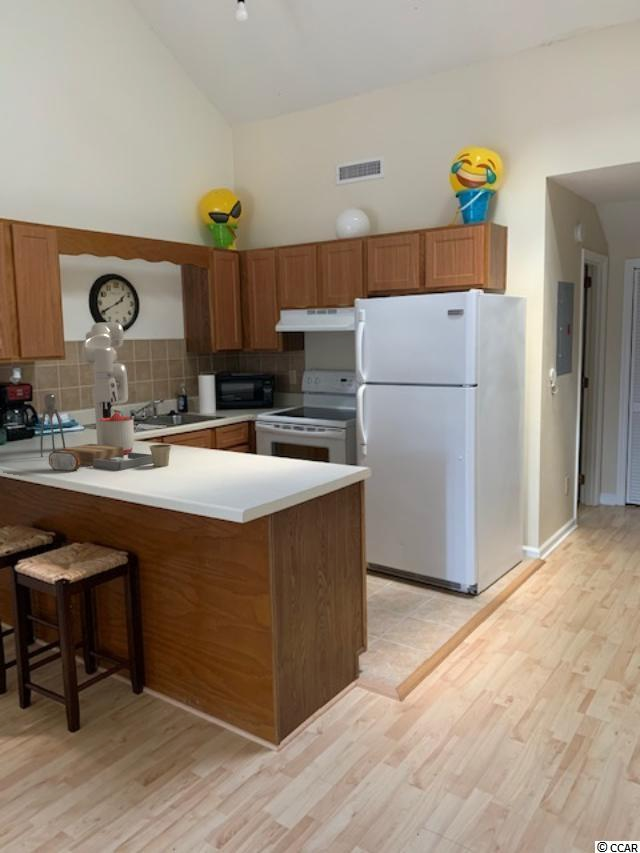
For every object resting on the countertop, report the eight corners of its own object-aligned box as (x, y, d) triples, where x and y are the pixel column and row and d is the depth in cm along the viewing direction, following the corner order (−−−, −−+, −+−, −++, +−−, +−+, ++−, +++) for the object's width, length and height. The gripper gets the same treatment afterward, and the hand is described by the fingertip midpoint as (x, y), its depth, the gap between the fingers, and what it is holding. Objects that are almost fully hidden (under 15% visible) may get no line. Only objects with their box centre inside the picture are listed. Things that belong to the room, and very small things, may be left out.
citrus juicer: (143, 453, 320) (141, 412, 317) (107, 457, 310) (104, 414, 307) (132, 449, 333) (130, 409, 330) (97, 453, 323) (95, 412, 320)
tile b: (123, 457, 294) (123, 462, 294) (117, 457, 296) (117, 461, 296) (116, 459, 290) (116, 463, 291) (110, 458, 293) (110, 463, 293)
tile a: (133, 459, 290) (133, 463, 291) (126, 458, 292) (127, 462, 293) (126, 460, 287) (126, 465, 287) (119, 459, 289) (120, 464, 289)
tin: (82, 470, 280) (81, 450, 279) (77, 472, 277) (76, 452, 276) (53, 469, 285) (51, 449, 284) (48, 470, 282) (46, 450, 281)
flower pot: (176, 464, 289) (176, 444, 288) (163, 468, 281) (162, 448, 280) (159, 463, 293) (158, 443, 292) (145, 467, 285) (144, 447, 284)
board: (91, 456, 314) (91, 443, 314) (123, 460, 303) (122, 447, 302) (62, 462, 301) (61, 448, 300) (94, 466, 289) (93, 452, 289)
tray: (129, 459, 303) (129, 452, 303) (155, 462, 294) (155, 454, 294) (93, 467, 287) (92, 459, 286) (120, 470, 278) (119, 462, 277)
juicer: (66, 455, 320) (61, 392, 316) (54, 459, 309) (50, 394, 305) (46, 455, 321) (42, 392, 317) (34, 459, 310) (29, 394, 306)
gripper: (123, 375, 290) (125, 417, 293) (99, 375, 298) (102, 415, 301) (109, 377, 284) (112, 419, 287) (86, 376, 292) (88, 417, 294)
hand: (107, 417), depth 294 cm, fingers closed
